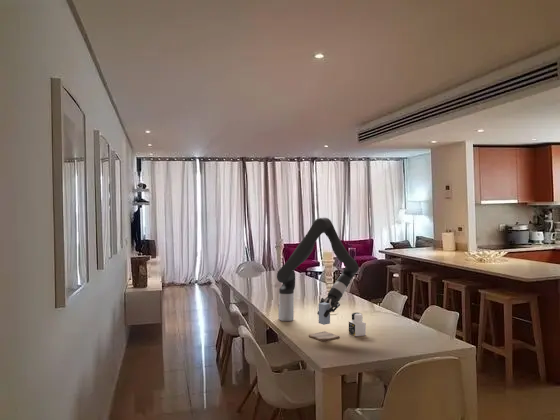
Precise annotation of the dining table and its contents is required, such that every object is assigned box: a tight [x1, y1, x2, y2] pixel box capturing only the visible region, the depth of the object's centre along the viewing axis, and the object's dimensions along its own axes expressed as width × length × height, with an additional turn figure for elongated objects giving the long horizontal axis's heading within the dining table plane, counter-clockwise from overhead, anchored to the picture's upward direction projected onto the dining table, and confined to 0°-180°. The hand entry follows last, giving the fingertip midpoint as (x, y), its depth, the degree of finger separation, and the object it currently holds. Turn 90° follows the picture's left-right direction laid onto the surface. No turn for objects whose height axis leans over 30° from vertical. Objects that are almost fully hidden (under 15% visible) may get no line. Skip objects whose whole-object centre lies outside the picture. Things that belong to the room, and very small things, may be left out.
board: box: [308, 330, 340, 343], centre depth 251 cm, size 12×12×1 cm
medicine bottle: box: [348, 312, 367, 337], centre depth 257 cm, size 7×7×12 cm
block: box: [317, 302, 331, 326], centre depth 251 cm, size 4×4×11 cm
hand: (321, 315), depth 250 cm, fingers closed on block, 4 cm apart
